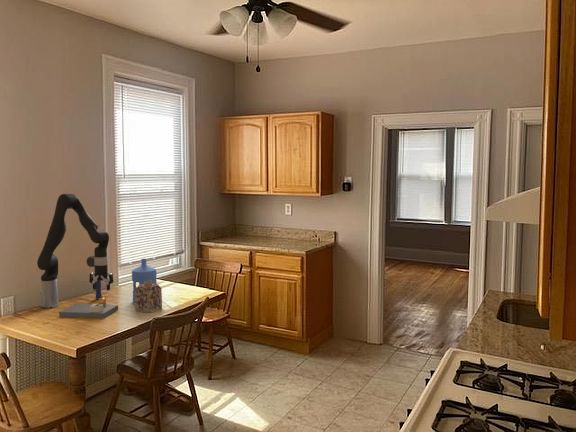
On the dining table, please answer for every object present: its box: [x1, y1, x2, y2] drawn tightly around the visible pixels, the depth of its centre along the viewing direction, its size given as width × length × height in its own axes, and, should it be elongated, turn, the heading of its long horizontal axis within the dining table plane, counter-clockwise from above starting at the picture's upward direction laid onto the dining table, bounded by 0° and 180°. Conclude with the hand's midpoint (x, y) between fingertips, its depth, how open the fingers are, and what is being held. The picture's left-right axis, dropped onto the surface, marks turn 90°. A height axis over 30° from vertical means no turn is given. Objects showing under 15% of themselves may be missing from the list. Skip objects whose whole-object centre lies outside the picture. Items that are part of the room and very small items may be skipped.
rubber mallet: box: [86, 254, 103, 300], centre depth 337 cm, size 12×8×30 cm, turn 152°
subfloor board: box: [58, 303, 119, 319], centre depth 305 cm, size 28×18×3 cm, turn 82°
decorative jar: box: [134, 281, 163, 314], centre depth 311 cm, size 12×12×18 cm
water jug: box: [131, 258, 158, 304], centre depth 331 cm, size 16×16×28 cm
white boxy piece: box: [90, 303, 104, 312], centre depth 299 cm, size 6×5×4 cm
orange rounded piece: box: [98, 297, 107, 307], centre depth 309 cm, size 4×4×8 cm
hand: (101, 290), depth 308 cm, fingers open, 8 cm apart
